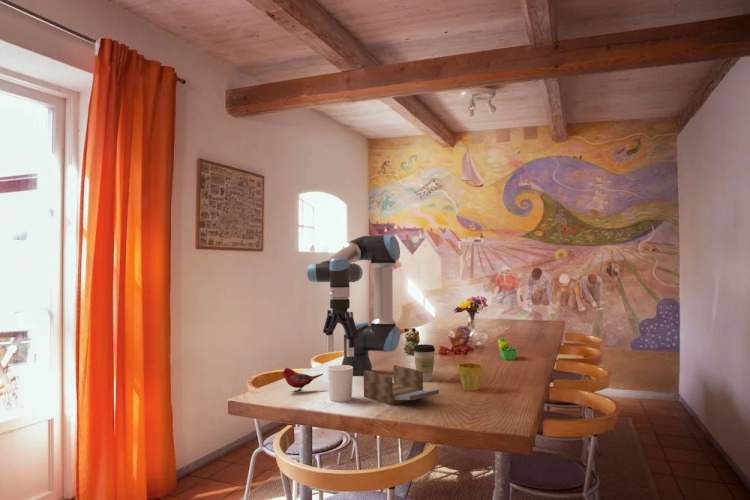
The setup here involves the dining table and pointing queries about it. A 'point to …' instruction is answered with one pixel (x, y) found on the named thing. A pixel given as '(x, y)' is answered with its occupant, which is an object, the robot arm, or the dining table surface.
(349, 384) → the candle holder
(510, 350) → the fruit basket
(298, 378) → the decorative bird figurine
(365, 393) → the small wooden shelf
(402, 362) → the dining table surface
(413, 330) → the decorative figurine
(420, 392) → the pale grey panel
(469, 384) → the plant pot
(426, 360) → the coffee cup
